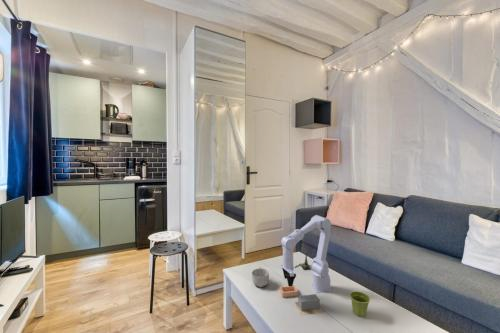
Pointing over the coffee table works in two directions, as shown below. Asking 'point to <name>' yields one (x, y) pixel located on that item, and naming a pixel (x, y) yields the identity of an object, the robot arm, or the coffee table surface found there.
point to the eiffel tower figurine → (304, 264)
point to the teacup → (260, 277)
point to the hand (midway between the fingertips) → (288, 282)
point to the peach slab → (288, 291)
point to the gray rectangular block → (308, 302)
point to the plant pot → (359, 303)
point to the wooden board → (309, 310)
